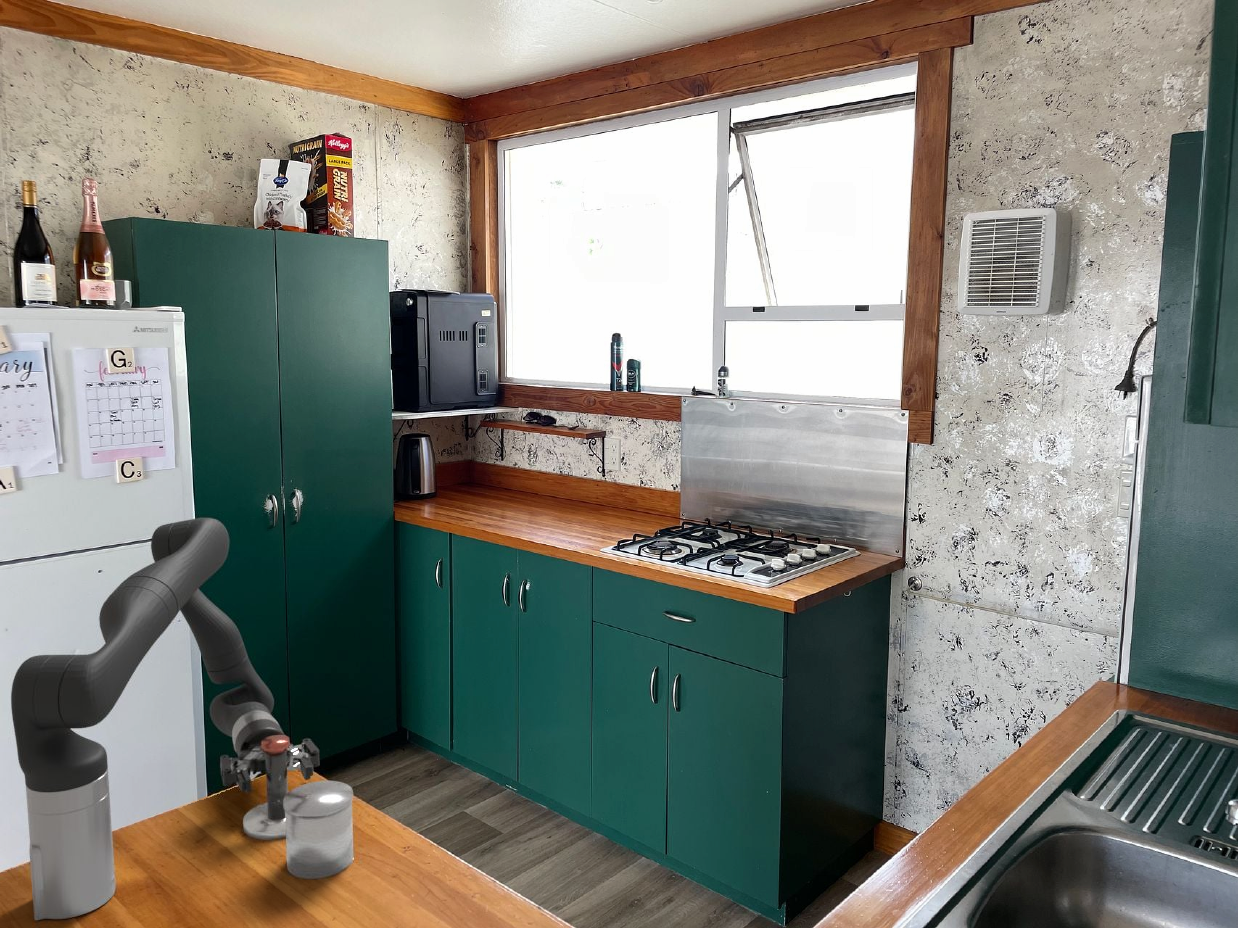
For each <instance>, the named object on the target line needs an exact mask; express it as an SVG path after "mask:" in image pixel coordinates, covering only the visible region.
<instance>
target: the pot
mask: <svg viewBox="0 0 1238 928" xmlns="http://www.w3.org/2000/svg"><path fill="white" fill-rule="evenodd" d="M353 801H354V790H353V788H352V787H351V786H350V785H349V784H347V783H344V782H342V781H337V780H319V781H313V782H309V783H305V784H302V785H299V786H297V787H295V788H293V789H291V790H290V791H288V793H287V794H286V796H285V797H284V799H283V808H284V810H285V824H286V837H285V840H286V841H285V844H286V845H285V846H286V848H285V849H286V868H287V871H288V872H289V874H291V875H292V876H294V877H297V878H299V879H304V880H305V879H306V880H314V879H316V880H317V879H323V878H328V877H332V876H334V875H336V874H339V873H341V872H342V871H344V870H346V869H347V868H348V867H349V866H350V865H351V864H352V862H353V860H354V830H353V827H354V826H353V825H354V824H353Z"/></svg>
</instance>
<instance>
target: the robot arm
mask: <svg viewBox="0 0 1238 928" xmlns="http://www.w3.org/2000/svg"><path fill="white" fill-rule="evenodd" d="M229 549H230V536H229V532H228V530H227V528H226V527H225V525H224V524H223V522H221V521H220V520H218V519H216V518H212V517H198V518H192V519H187V520H181V521H176V522H170V523H166V524H161V525H160V526H158V527H156V528H155V530H154V531H153V533H152V537H151V541H150V551H151V555H152V558H153V561H154V562H153V563H151V564H149V565H146V566H144V567H142V568H141V569H140V570H138V571H136V572H133V573H132V574H131V575H129V576H128V577H127V578H126V579H124V580H123V581H122V582H121V583H120V584H119V585H118V586H117V587H116V588H115V589H114V590H113V591H112V592H111V593H110V595H109V596H108V597H107V598H106V600H105V601H104V603H103V604H102V606H101V608H100V611H99V616H98V617H99V619H98V621H99V628H100V632H101V635H102V637H103V638H102V639H103V640H104V644H103V645H102V647H101V648H100V649H98V650H97V651H95V652H92V653H89V654H88V653H87V654H39V655H34V656H31V657H29V658H27V659H26V660H24V661H23V662H22V663H21V665H20V666H19V667H18V669H17V670H16V672H15V674H14V675H15V676H14V678H13V681H12V685H11V691H10V706H11V709H10V710H11V715H12V717H11V718H12V723H13V731H14V736H15V742H16V743H15V745H16V750H17V760H18V763H19V764H18V765H19V767H20V770H21V771H22V773H23V774H24V783H25V792H26V793H25V794H26V795H25V796H26V806H27V808H26V809H27V821H28V832H29V835H28V837H29V865H30V875H31V876H30V877H31V888H32V889H31V890H32V891H31V892H32V903H33V914H34V915H33V916H34V921H40V920H45V919H48V920H50V919H51V920H63V919H70V918H75V917H79V916H81V915H84V914H88V913H90V912H92V911H94V910H97V909H98V908H100V907H101V906H103V905H105V904H106V903H107V902H108V901H110V899H112V897H113V896H114V894H115V892H116V871H115V860H114V859H115V857H114V856H115V855H114V844H113V828H112V826H113V825H112V814H111V813H112V812H111V800H110V799H111V798H110V795H111V794H110V782H109V781H110V779H109V764H108V754H107V753H108V752H107V749H106V748H105V747H104V746H103V745H102V744H101V743H99V742H97V741H94V740H92V739H89V738H87V737H84V736H82V735H80V734H78V733H77V732H75V731H74V730H75V729H86V728H90V727H94V726H97V725H98V724H100V723H101V722H103V721H104V720H105V719H106V718H107V717H108V716H109V714H110V713H111V711H112V710H113V708H114V707H115V705H116V704H117V703H118V700H119V699H120V698H121V696H122V694H123V692H124V691H125V689H126V687H127V685H128V684H129V682H130V680H131V678H132V677H133V675H134V673H135V672H136V670H137V668H138V666H139V665H140V663H141V662H142V660H144V658H145V657H146V655H147V654H148V653H149V651H150V650H151V648H152V647H153V646H154V644H155V643H156V641H158V639H159V638H160V637H161V636H162V635H163V634H164V633H165V631H166V630H167V629H168V627H170V625H171V623H172V622H173V621H174V620H175V618H176V617H177V615H178V614H179V612H180V613H181V614H182V617H184V619H185V621H186V623H187V625H188V626H189V628H190V631H191V633H192V634H193V637H194V640H195V641H196V644H197V647H198V649H199V653H200V655H201V658H202V661H203V663H204V666H205V669H206V672H207V675H208V677H209V679H210V681H211V682H212V683H214V684H215V685H216V684H217V685H225V684H232V683H242V684H241V685H240V686H237V687H234V688H232V689H230V690H227V691H225V692H222V693H220V694H218V695H216V696H215V697H213V699H212V701H211V702H210V704H209V705H210V706H209V715H210V718H211V721H212V723H213V724H214V726H215V727H216V728H217V729H218V730H219V732H221V733H223V734H224V735H226V736H228V737H230V738H232V744H233V749H234V751H235V753H236V754H237V757H229V755H228V754H223V755H221V756H220V757H219V759H220V760H219V761H220V762H219V763H220V766H219V767H220V775H221V779H222V784H223V786H224V787H229V786H231V785H232V784H233V783H235V784H236V785H237V786H238V788H239V790H240V791H241V792H245V793H246V794H250V793H252V781H253V780H254V778H256V777H257V776H258V775H259V774H262V773H266V759H265V753H264V752H262V748H261V741H262V740H263V739H265V738H267V737H269V736H274V735H285V733H284V731H283V729H282V728H281V726H280V724H279V722H278V721H277V720H276V719H275V718H274V716H273V715H272V712H273V710H274V705H275V699H274V697H273V694H272V692H271V690H270V689H269V687H268V686H267V685H266V684H265V682H264V681H263V680H262V678H260V676H259V674H258V673H257V671H256V670H255V668H254V666H253V665H252V663H251V660H250V659H249V658H250V657H249V656H248V652H247V650H246V647H245V644H244V641H243V638H242V635H241V633H240V630H239V629H238V627H237V625H236V624H235V622H234V621H233V620H232V619H231V618H230V617H229V616H228V615H227V614H226V613H225V612H224V611H222V610H221V609H220V608H219V607H217V605H215V604H214V603H213V602H212V601H211V600H209V598H208V597H207V596H206V594H204V593H203V592H202V591H201V590H200V587H201V586H202V585H203V584H204V583H205V582H206V581H208V580H209V579H210V578H211V577H212V576H213V575H214V574H215V573H216V572H217V571H219V570H220V568H221V567H222V566H223V565H224V563H225V561H226V560H227V558H228V556H229V555H228V554H229ZM72 729H74V730H72ZM286 755H287V772H288V771H289V772H294V771H295V770H297V771H300V773H301V775H302V777H303V779H304V780H305V781H309V780H311V777H313V776H314V768H317V767H319V766H320V749H319V748H318V747H317V745H315V742H313V741H312V739H311V738H304V739H302V743H301V744H296V745H294V744H293V743H290V747H289V749H287V750H286ZM299 760H300V761H299Z"/></svg>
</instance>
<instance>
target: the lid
mask: <svg viewBox="0 0 1238 928" xmlns="http://www.w3.org/2000/svg"><path fill="white" fill-rule="evenodd" d="M290 744H291V742H290V737H289V736H287V735H285V734H284V735H274V736H269V737H267V738H265V739H263V740H262V741H261V748H262V752H264V753H265V759H266V772H265V777H266V778H265V780H266V782H265V783H266V802H264V803H261V804H258V805H256V806H255V807H253V808H251V809H250V810H248V812H246V813H245V815H244V816H243V821H242V825H243V828H242V829H243V831H244V833H245V834H246V835H247V836H249V837H250V838H252V839H258V840H267V841H268V840H278V839H283V838H286V824H285V810H284V808H283V799H284V797H285V796H286V794H287V793H289V788H288V785H289V784H288V770H287V755H286V750H287V749H289V747H290Z"/></svg>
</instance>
